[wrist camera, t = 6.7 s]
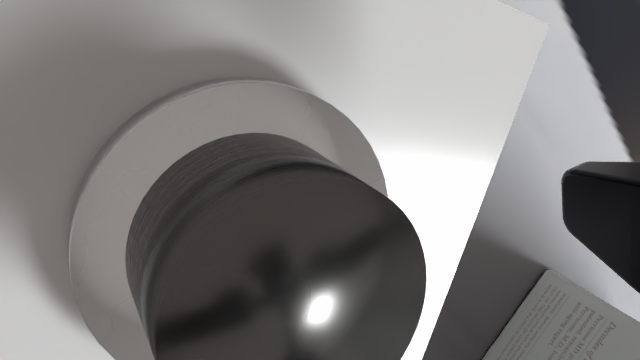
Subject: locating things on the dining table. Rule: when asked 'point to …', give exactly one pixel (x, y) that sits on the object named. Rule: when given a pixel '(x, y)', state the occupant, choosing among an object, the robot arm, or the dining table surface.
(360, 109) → the pale grey box
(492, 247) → the dining table surface
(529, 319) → the supplement box
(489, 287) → the dining table surface
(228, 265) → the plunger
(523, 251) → the dining table surface
